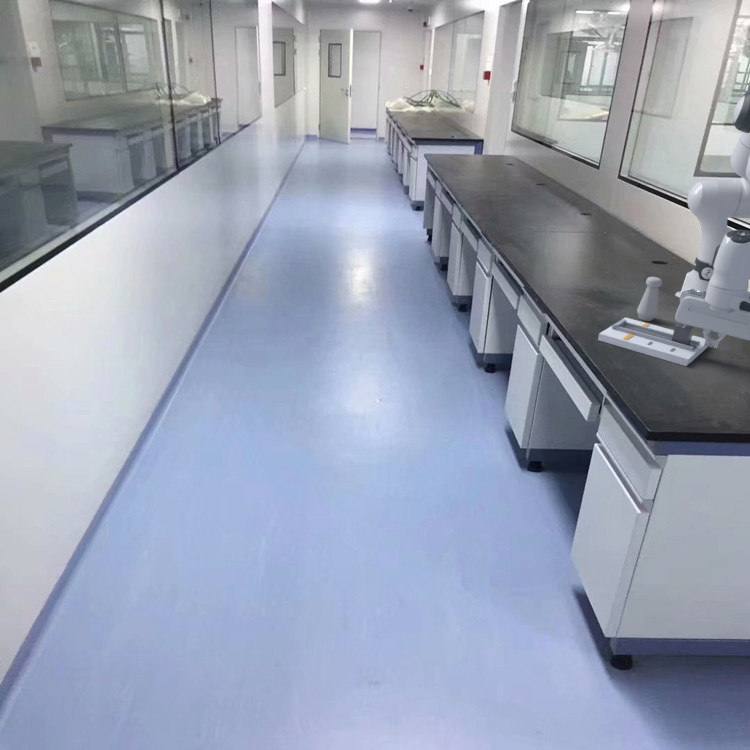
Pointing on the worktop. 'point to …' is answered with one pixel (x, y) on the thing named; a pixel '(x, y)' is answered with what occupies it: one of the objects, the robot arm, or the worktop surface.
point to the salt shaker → (649, 300)
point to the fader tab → (683, 334)
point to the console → (652, 341)
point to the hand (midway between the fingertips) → (710, 346)
